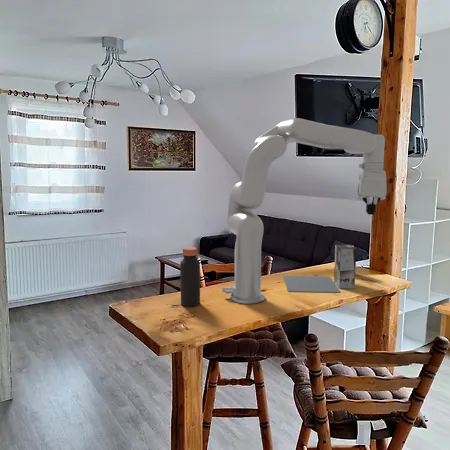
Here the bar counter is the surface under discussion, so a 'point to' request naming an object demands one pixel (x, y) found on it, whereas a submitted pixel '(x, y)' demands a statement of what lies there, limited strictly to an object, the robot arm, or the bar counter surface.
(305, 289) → the mat
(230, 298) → the robot arm
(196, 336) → the bar counter surface
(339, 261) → the coffee box
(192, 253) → the black water bottle
